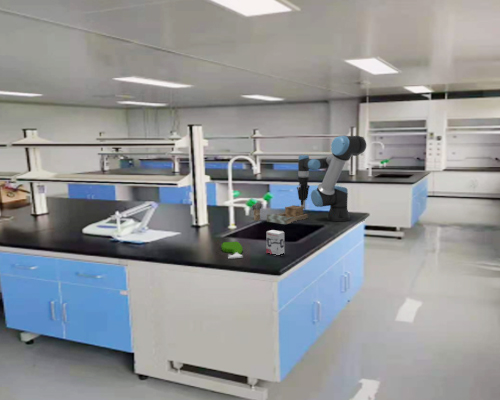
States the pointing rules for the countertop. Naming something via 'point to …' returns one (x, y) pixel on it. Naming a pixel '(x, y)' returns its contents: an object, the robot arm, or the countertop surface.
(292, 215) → the crate
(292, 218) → the bay
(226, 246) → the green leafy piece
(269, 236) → the ink box
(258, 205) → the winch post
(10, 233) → the countertop surface
